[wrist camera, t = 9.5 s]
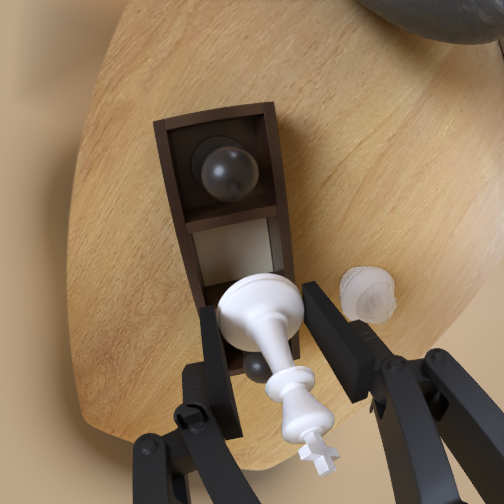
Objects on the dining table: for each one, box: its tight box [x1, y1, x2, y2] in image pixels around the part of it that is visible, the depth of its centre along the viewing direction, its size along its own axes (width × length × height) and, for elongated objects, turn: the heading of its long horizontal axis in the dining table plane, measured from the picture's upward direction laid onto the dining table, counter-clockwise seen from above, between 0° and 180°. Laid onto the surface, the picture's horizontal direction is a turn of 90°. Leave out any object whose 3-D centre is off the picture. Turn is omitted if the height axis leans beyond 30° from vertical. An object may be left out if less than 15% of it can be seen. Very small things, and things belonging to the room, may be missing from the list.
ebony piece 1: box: [191, 136, 259, 202], centre depth 18 cm, size 4×4×9 cm
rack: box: [153, 102, 300, 376], centre depth 24 cm, size 8×23×5 cm, turn 8°
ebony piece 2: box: [242, 350, 273, 384], centre depth 24 cm, size 4×4×9 cm
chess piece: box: [216, 273, 340, 476], centre depth 12 cm, size 5×5×10 cm
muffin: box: [340, 266, 397, 325], centre depth 27 cm, size 6×6×7 cm
